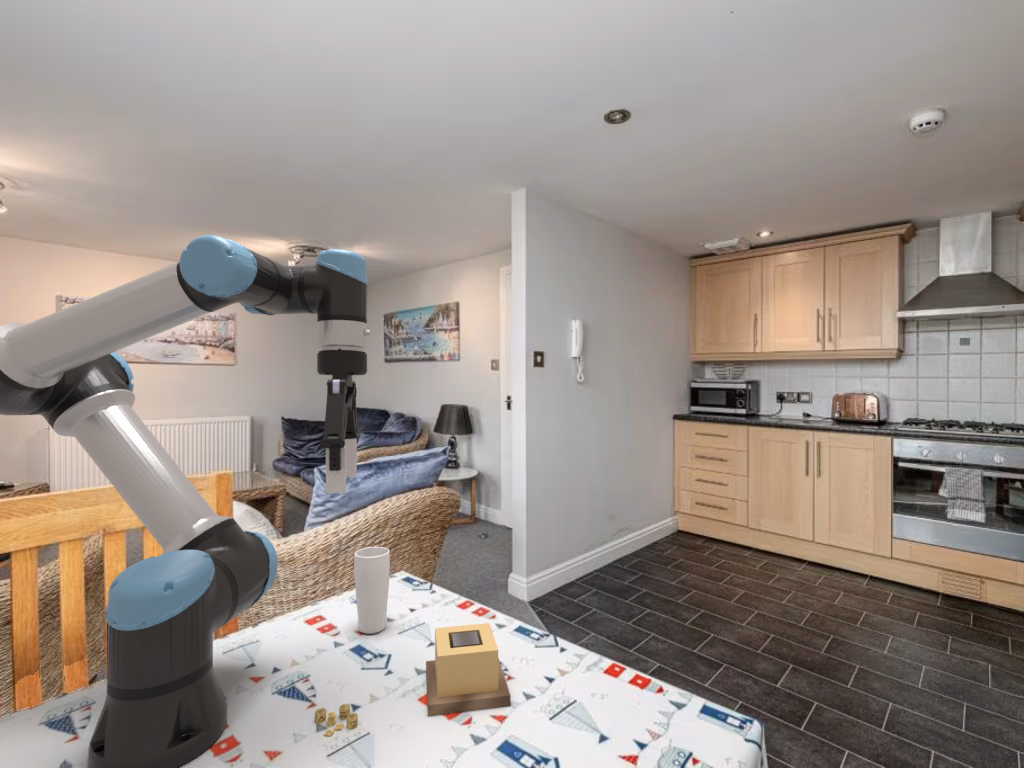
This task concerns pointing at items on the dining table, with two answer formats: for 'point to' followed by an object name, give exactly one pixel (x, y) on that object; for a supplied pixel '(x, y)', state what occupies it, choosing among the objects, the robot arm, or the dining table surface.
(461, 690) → the collar
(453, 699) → the post base
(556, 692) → the dining table surface
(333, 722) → the dice set
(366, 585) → the drinking glass
